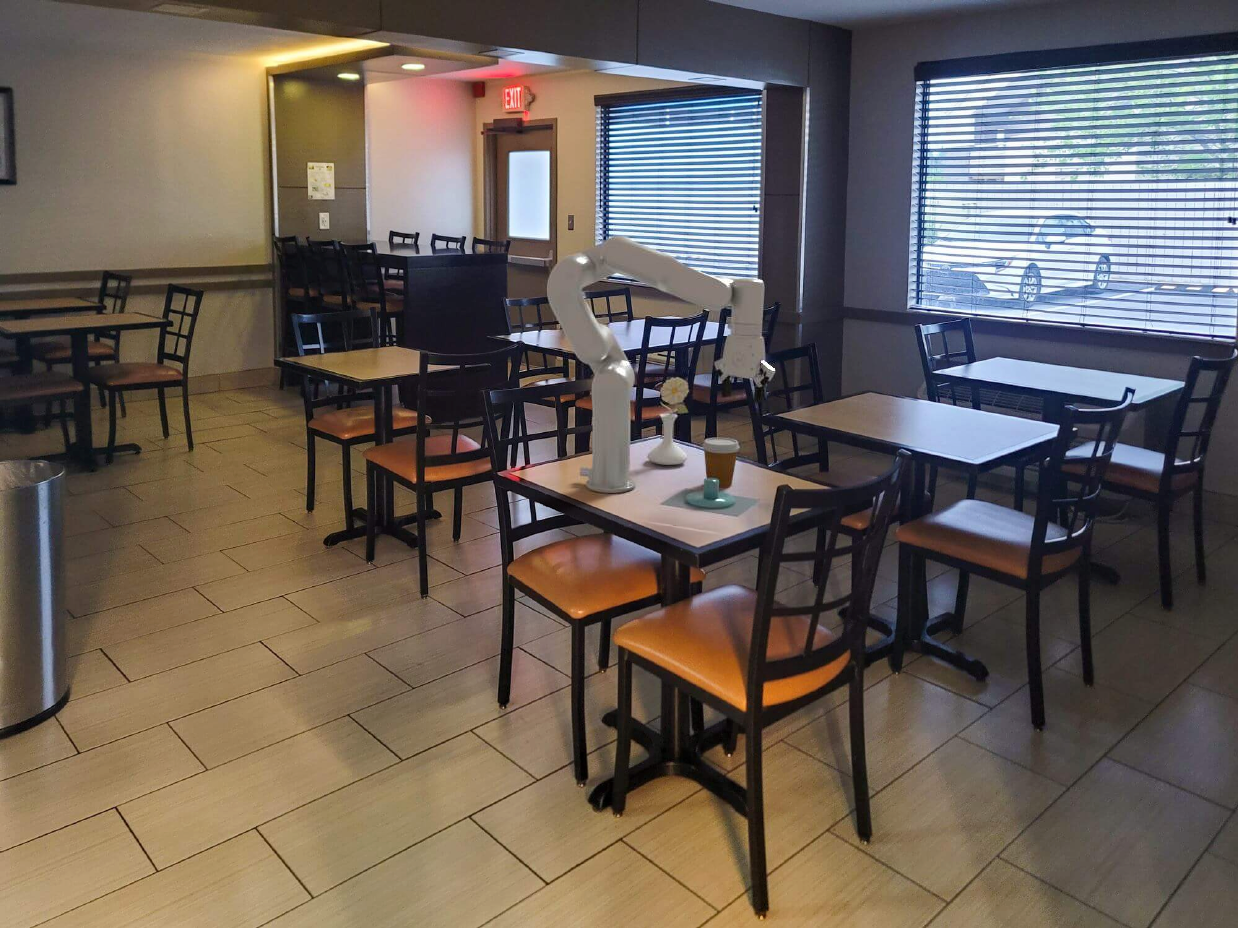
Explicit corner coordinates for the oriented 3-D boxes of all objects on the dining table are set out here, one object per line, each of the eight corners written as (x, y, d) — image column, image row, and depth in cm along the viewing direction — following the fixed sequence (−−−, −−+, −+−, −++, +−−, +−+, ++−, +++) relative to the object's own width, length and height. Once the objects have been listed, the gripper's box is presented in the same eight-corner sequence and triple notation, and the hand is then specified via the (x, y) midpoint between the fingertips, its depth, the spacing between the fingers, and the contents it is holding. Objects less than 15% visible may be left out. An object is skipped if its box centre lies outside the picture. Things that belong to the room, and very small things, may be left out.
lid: (678, 504, 240) (678, 482, 238) (697, 492, 250) (698, 471, 249) (724, 511, 234) (725, 489, 233) (742, 499, 245) (743, 477, 243)
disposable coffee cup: (735, 492, 252) (738, 446, 250) (698, 489, 254) (700, 444, 251) (739, 482, 262) (741, 438, 259) (703, 480, 263) (704, 436, 260)
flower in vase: (638, 462, 281) (640, 374, 275) (667, 456, 288) (669, 371, 282) (671, 471, 272) (674, 381, 265) (699, 465, 279) (703, 377, 273)
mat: (659, 505, 240) (659, 503, 240) (685, 490, 254) (685, 488, 253) (737, 518, 231) (737, 516, 231) (760, 501, 245) (760, 499, 245)
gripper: (708, 327, 244) (705, 396, 248) (767, 335, 233) (763, 406, 237) (726, 325, 250) (722, 392, 254) (784, 332, 239) (780, 402, 243)
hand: (742, 399), depth 246 cm, fingers open, 9 cm apart
